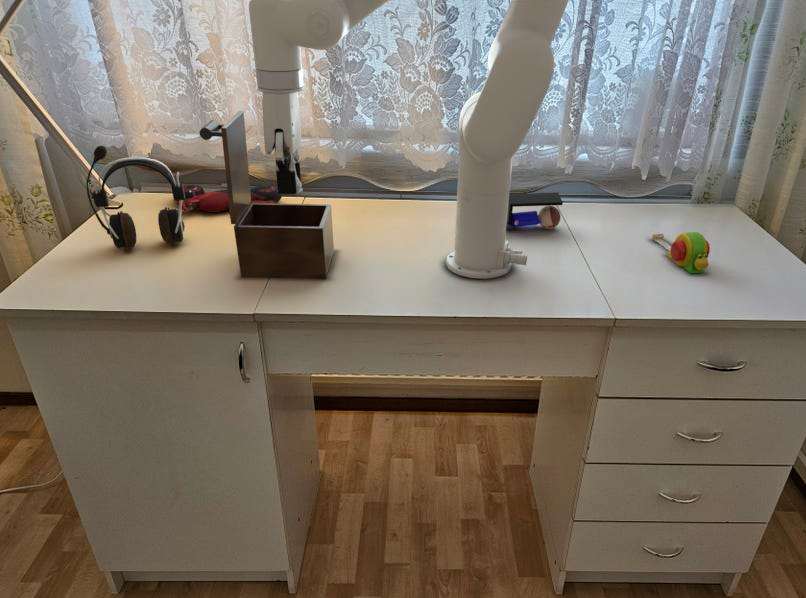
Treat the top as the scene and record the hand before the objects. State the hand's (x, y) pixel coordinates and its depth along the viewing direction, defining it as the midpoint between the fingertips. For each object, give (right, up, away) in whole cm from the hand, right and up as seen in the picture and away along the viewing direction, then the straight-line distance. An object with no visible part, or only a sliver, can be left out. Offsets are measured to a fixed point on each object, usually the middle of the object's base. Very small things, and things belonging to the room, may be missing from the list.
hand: (290, 187), depth 118 cm
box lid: (-8, +3, -2) cm, 9 cm away
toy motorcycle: (-22, +4, +33) cm, 40 cm away
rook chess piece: (0, -1, +1) cm, 1 cm away
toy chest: (-2, -13, +8) cm, 15 cm away
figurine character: (+46, -2, +27) cm, 53 cm away
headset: (-31, -8, +14) cm, 35 cm away
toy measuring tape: (+75, -10, +15) cm, 78 cm away
